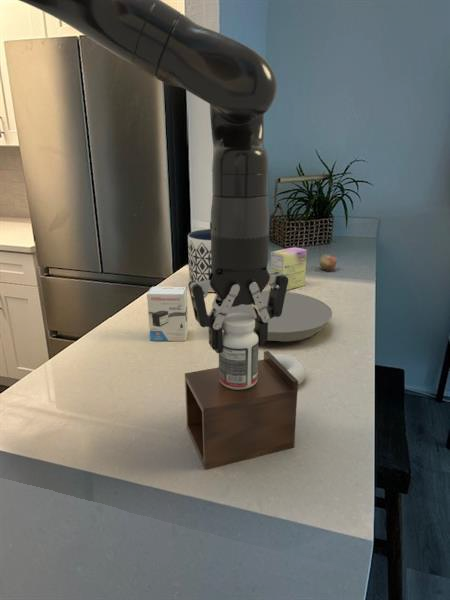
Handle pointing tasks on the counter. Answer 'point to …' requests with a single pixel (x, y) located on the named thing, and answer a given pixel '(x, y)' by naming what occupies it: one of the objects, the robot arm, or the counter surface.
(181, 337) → the ink box
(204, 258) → the planter
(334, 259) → the apple
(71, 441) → the counter surface
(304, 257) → the box
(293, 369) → the donut
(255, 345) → the pill bottle
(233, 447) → the open wooden cube
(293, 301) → the flat disc
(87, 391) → the counter surface
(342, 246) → the counter surface
